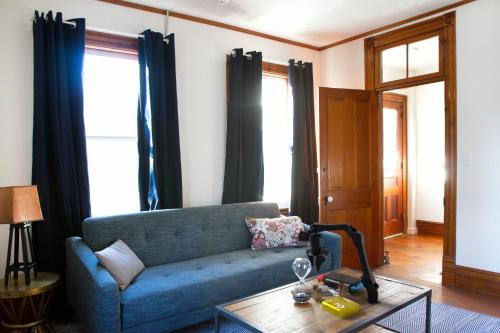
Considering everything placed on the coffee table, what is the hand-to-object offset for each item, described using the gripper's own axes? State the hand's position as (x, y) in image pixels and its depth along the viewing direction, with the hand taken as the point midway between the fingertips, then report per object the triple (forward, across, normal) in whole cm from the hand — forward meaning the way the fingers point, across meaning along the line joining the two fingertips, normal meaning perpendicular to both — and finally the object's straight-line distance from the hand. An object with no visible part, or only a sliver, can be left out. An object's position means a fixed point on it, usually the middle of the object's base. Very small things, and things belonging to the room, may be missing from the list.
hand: (315, 269), depth 226 cm
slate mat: (+13, -5, +4) cm, 14 cm away
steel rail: (+12, -5, +4) cm, 14 cm away
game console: (+10, +5, -24) cm, 26 cm away
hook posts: (+13, -14, -4) cm, 20 cm away
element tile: (+14, -29, -4) cm, 32 cm away
